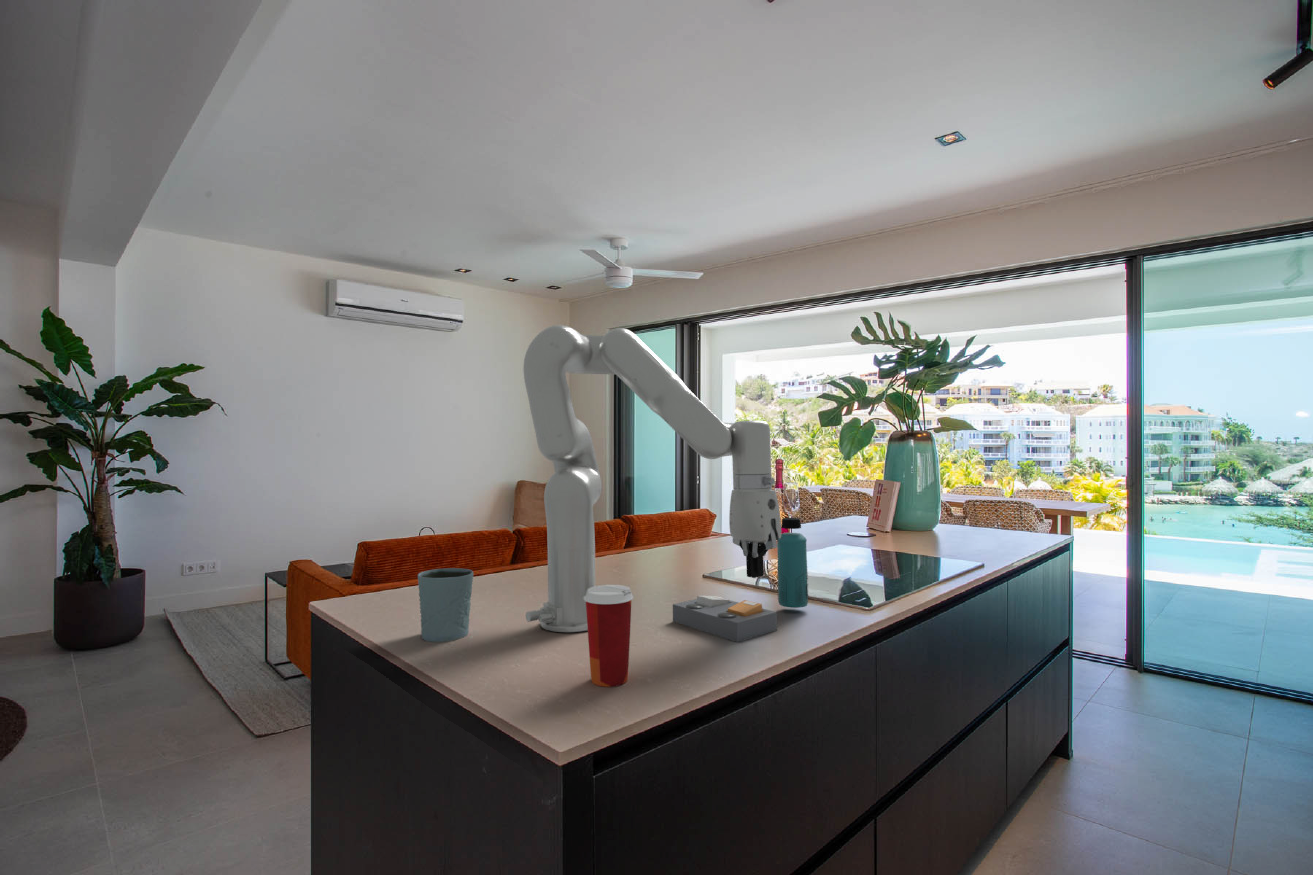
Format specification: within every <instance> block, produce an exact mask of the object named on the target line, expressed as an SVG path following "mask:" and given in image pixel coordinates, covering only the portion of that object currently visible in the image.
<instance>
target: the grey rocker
mask: <svg viewBox="0 0 1313 875" xmlns="http://www.w3.org/2000/svg"><path fill="white" fill-rule="evenodd" d="M696 599H697V602H696V604H701V605H704V606H707V607H711V608H712V607H716V606H720V605H724V604H728V603H729V600H730V599H727V598H725V597H720V596H717V595H697V596H696Z"/></svg>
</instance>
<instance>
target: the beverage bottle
mask: <svg viewBox="0 0 1313 875" xmlns="http://www.w3.org/2000/svg"><path fill="white" fill-rule="evenodd" d="M781 529H785V530H786V529H787V530H797V529H802V525H801V518H799V517H783V518H782V519H781ZM776 541H777V570H776V571H777V572H776V573H777V574H776V575H777V584H776V585H777V601H778V605H779V606H781V607H786V608H790V609H791V608H794V609H795V608H796V609H797V608H798V609H799V608H804V607H805V608H806V607H807V606H808V603H809V583H808V580H809V575H808V574H809V572H808V568H809V567H808V558H807V557H808V556H807V553H808V552H807V538H806V536H804V534H802V533H798V532H783V533H782V532H781V538H780V539H779V540H776Z"/></svg>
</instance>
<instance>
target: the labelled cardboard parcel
mask: <svg viewBox="0 0 1313 875" xmlns="http://www.w3.org/2000/svg"><path fill="white" fill-rule="evenodd" d="M762 609H763V605H762V603H759V602H754V601H751V600H746V599H744V600H742V601H740V602H739V603H738V604H736V605H734V606H732V607H730V608H728V612H729V613H734V614H736V615H740V616H744V617H745V616H749V615H753V614H757V613H761V612H763V610H762Z"/></svg>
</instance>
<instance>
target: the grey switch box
mask: <svg viewBox="0 0 1313 875" xmlns="http://www.w3.org/2000/svg"><path fill="white" fill-rule="evenodd" d="M728 600H729V603H728V604H724V605H720V606H716V607H712V608H711V607H707V606H704V605H701V604H696V602H697V598H695V599H690V600H686V601H682V602H678V603H677V602H676V603H673V604H672V622H674V623H677V624H679V625H680V624H681V625H683V626H685V627H689V628H692V629H696V630H698V631H701V632H704V631H705V632H704V633H708V634H710V635H711V634H712V635H714V636H717V637H721V638H723V637H724V639H727V640H729V639H731V640H730V641H733V642H736V643H738V642H742V640H743V641H746V640H749V639H752V638H753V639H754V638H756V637H759V636H762V635H767V634H770V633H772V632H776V631H778V613H777V611H773V610H770V609H765V608H762V610H763V612H761V613H757V614H753V615H749V616H745V617H744V616H740V615H736V614H734V613H729V612H728V608H730V607H732V606H734V605H736V604H738V603H740V602H739V601H734V600H730V599H728ZM745 639H746V640H745Z"/></svg>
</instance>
